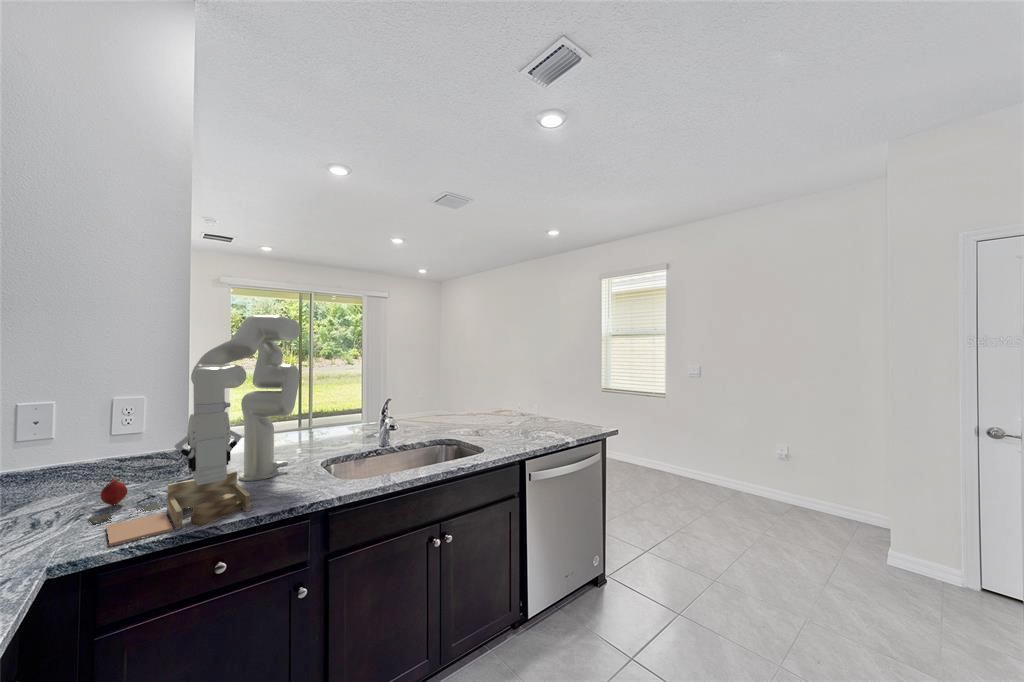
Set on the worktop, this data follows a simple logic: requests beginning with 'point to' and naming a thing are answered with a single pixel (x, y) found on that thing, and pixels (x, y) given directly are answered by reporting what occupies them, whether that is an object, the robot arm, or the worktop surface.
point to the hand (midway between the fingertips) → (209, 466)
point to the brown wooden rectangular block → (215, 509)
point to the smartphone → (105, 517)
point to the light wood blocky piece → (202, 495)
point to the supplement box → (210, 461)
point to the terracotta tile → (138, 528)
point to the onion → (114, 492)
